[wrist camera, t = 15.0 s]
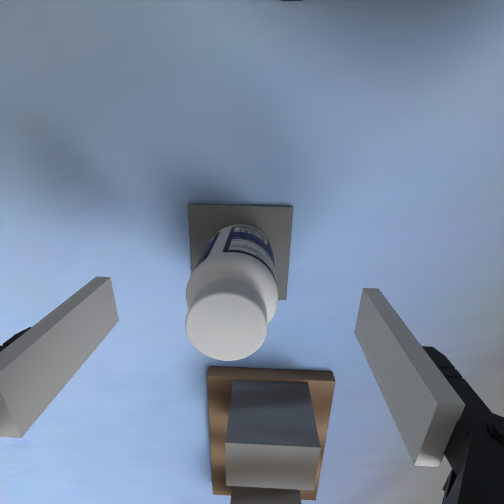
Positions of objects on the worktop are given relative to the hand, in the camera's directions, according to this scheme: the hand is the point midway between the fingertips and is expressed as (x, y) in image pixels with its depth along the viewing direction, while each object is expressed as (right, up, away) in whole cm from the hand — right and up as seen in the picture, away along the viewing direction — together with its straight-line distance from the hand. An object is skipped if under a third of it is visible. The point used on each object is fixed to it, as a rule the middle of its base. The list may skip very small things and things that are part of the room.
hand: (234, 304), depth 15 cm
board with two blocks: (+3, -17, +16) cm, 23 cm away
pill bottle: (0, +3, +8) cm, 8 cm away
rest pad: (0, +3, +8) cm, 9 cm away
